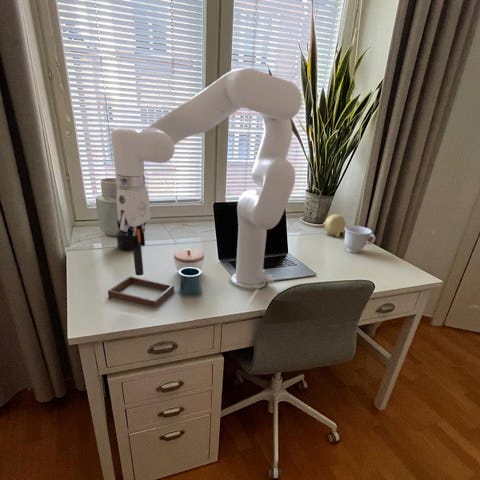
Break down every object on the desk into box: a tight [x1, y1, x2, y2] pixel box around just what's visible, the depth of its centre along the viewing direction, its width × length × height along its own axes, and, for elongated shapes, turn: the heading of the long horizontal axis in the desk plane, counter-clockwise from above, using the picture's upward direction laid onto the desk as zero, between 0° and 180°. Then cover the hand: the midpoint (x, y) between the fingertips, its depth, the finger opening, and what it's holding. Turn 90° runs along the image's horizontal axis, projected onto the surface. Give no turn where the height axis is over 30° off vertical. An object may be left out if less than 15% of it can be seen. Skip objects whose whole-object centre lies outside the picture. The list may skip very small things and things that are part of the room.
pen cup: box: [178, 267, 202, 297], centre depth 114 cm, size 7×7×8 cm
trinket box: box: [173, 248, 205, 273], centre depth 126 cm, size 11×11×9 cm
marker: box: [132, 229, 144, 276], centre depth 104 cm, size 2×2×14 cm
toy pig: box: [322, 213, 346, 238], centre depth 176 cm, size 10×12×11 cm
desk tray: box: [107, 275, 175, 309], centre depth 111 cm, size 17×12×3 cm
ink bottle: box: [115, 218, 133, 252], centre depth 143 cm, size 10×9×12 cm
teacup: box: [344, 224, 376, 254], centre depth 157 cm, size 12×15×10 cm
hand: (136, 246), depth 103 cm, fingers closed on marker, 2 cm apart
